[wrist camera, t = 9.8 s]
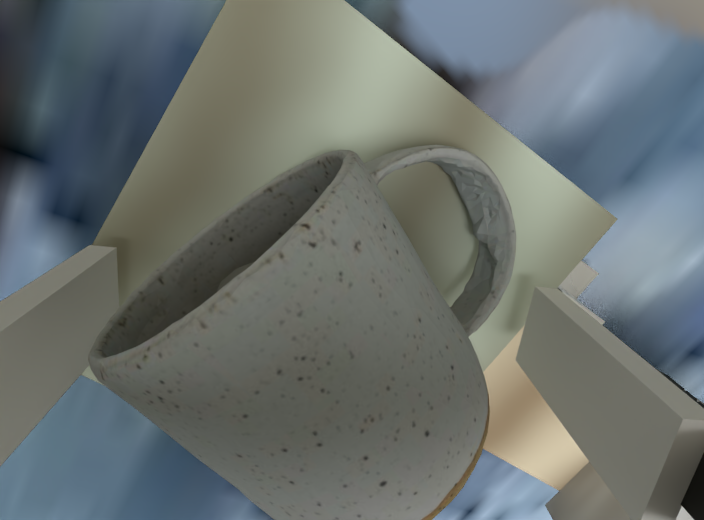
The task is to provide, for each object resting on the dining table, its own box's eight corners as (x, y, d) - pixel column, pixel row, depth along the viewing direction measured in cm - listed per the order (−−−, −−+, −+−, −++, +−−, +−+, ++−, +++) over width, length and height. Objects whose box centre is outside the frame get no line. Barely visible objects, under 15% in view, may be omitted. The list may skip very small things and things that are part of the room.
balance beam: (68, 318, 18) (-11, 393, 14) (270, -41, 15) (251, -98, 10) (628, 596, 27) (691, 698, 22) (844, 411, 23) (972, 489, 19)
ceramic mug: (300, 427, 18) (296, 654, 11) (146, 268, 15) (2, 426, 8) (539, 270, 17) (719, 407, 9) (416, 66, 14) (536, 37, 7)
